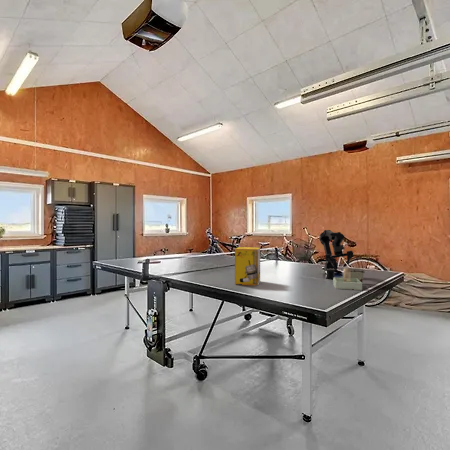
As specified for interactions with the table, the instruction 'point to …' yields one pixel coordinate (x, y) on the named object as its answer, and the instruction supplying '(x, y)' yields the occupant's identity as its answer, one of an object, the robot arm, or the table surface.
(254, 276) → the packaging box
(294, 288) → the table surface
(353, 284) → the open box
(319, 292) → the table surface
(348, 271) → the maple peg
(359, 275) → the food container
